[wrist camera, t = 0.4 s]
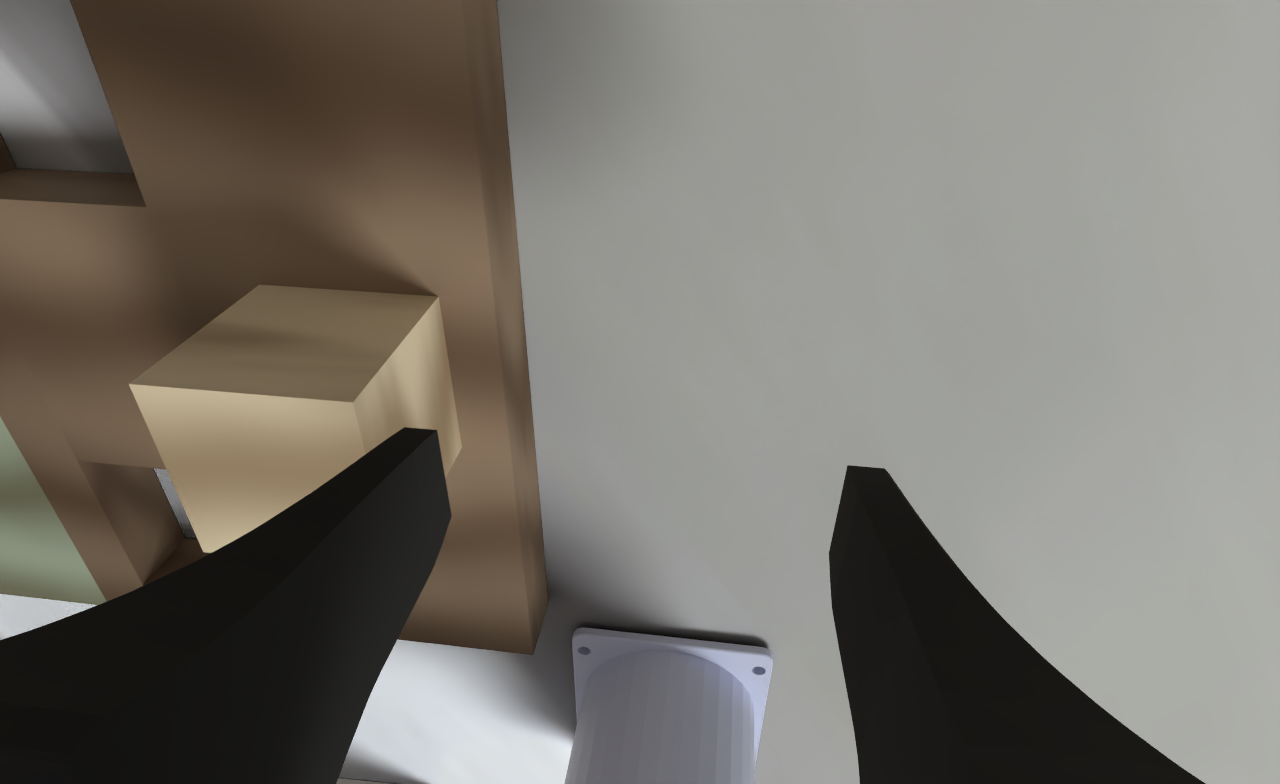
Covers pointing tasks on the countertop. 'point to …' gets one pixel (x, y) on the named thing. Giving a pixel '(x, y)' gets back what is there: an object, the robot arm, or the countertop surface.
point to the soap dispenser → (356, 782)
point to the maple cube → (293, 398)
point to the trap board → (266, 275)
